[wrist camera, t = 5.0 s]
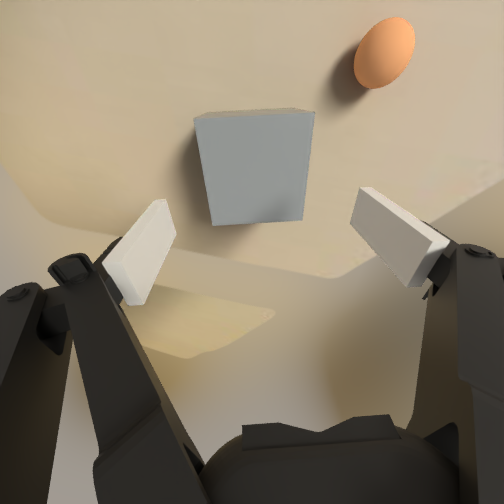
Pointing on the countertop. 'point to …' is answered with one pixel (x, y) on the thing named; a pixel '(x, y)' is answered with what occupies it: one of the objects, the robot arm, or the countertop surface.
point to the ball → (384, 52)
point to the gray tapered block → (255, 164)
